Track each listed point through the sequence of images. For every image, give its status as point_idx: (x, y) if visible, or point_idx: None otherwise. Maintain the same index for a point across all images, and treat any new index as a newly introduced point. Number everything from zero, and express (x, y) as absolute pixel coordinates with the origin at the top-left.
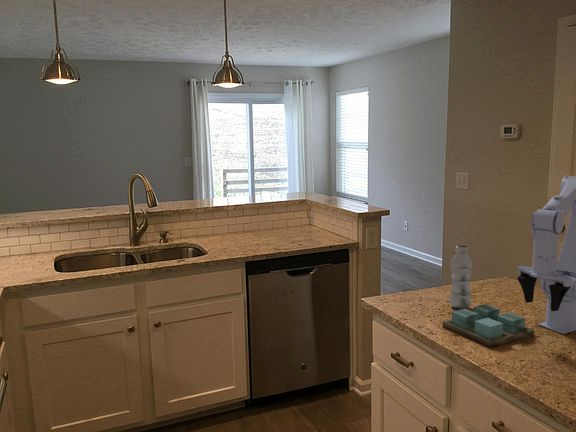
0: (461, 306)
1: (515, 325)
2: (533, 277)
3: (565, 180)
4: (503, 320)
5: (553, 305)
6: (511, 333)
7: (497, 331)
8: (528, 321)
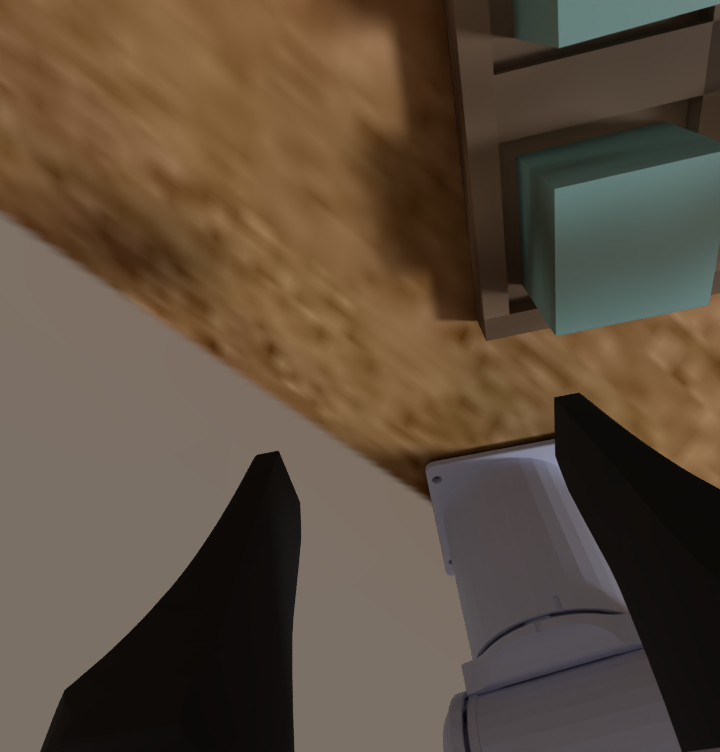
0: None
1: (539, 215)
2: (704, 737)
3: None
4: (645, 158)
5: (233, 496)
6: (521, 158)
7: None
8: (648, 423)
